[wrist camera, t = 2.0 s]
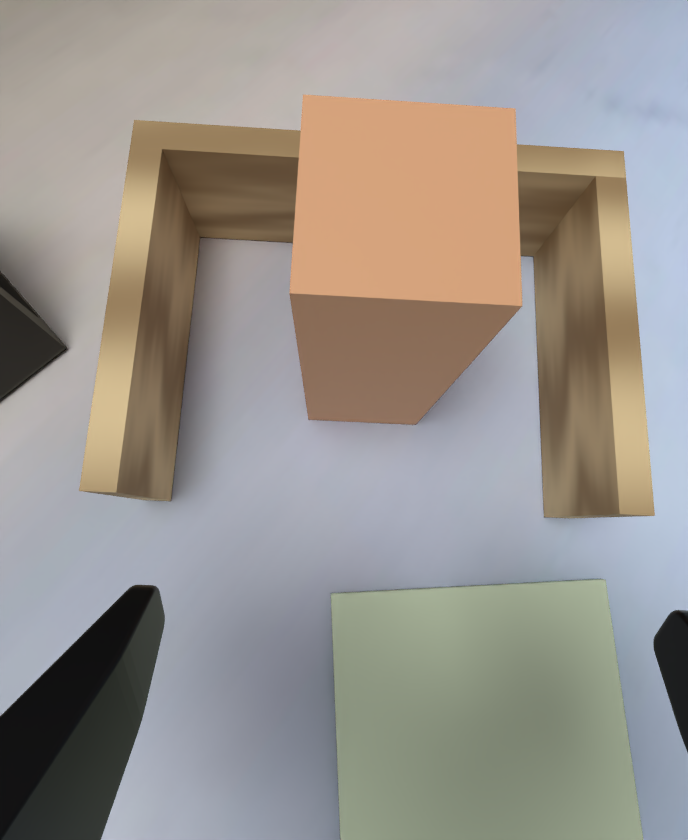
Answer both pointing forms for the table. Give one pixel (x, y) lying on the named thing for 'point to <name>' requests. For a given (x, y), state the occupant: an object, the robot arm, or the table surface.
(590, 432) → the u-shaped frame
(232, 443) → the table surface
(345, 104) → the block
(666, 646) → the robot arm
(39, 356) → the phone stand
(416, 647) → the mat
